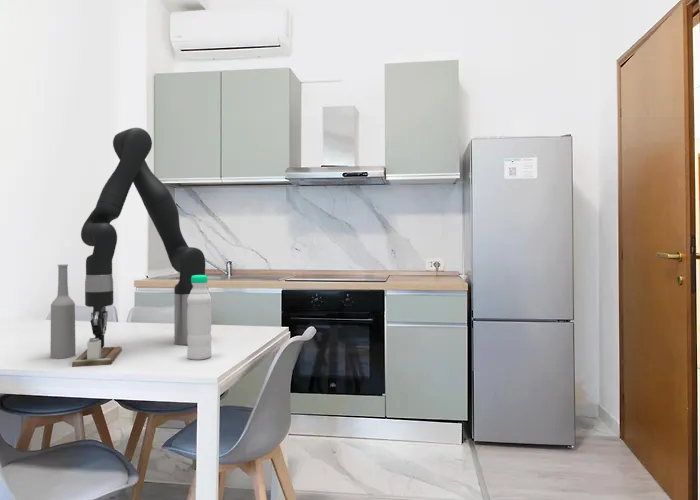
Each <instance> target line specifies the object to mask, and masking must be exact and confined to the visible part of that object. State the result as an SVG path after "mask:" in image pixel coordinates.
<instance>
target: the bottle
mask: <svg viewBox="0 0 700 500" xmlns="http://www.w3.org/2000/svg"><path fill="white" fill-rule="evenodd" d="M68 266H69V265H68V264H57V272H58V273H57V274H58V275H57V276H58V277H57V278H58V280H57V282H58V283H57V284H58V285H57V296H56V298H55V299H54V300H53V301H52V302H51V304H50V358H51V359H54V358H55V359H58V360H59V359H68V358H72V357H75V356H76V302H74V300H73V299H72V298H71V296H70V295H69V286H68V284H69V282H68V280H69V279H68Z"/></svg>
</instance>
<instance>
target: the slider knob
mask: <svg viewBox="0 0 700 500" xmlns="http://www.w3.org/2000/svg"><path fill="white" fill-rule="evenodd" d="M86 350H87V360H89V359H100V358H101V340H99V338H95V337H90V338H89V340H88V341H87V344H86Z"/></svg>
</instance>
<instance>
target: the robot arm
mask: <svg viewBox="0 0 700 500" xmlns="http://www.w3.org/2000/svg"><path fill="white" fill-rule="evenodd" d="M152 140H153V139H152V137H151V135H150V134H149V132H148V131H146V129H143V128H141V127H130V128H128V129H125V130H122V131H120V132H118V133H116V134H115V135H114V137H113V140H112V147H113V150H114V152H115V154H116V156H117V158H118V159H119V162H118V164H117V165H116V167H115V169H114V171H113V172H112V174H111V175H110V177H109V178H108V180H107V181H106V182H105V184H104V185H103V188H102V190H101V192H100V194H99V196H98V200H97V202H96V205H95V207H94V209H93V210H92V211H91V212H90V213H89V215H88V217H87V219H85V222H84V224H83V226H82V227H81V231H80V237H81V241H82V242H83V243H84V244H85V245H87V246H88V247H93V250H92V254H91V255H88V256H87V257H86V259H85V280H84V305H85V306H86V307H89V308H93V309H92V312H91V313H90V320H89V321H90V325H91V330H92V331H91V332H92V335H93V336H94V338H99V340H101V348H103V347H105V334H106V331H107V325H108V317H109V311H108V310H107V308H106V307H111V306H112V305H114V277H113V259H114V255H115V251H116V247H117V244H118V233H117V229H116V228H115V227H114V225H113V224H111V223H112V221H115V220H117V219H118V218H119V217H120V216H121V213H122V210H123V209H124V208H123V207H124V205H125V203H126V200H127V197H128V195H129V192H130V189H131V188H132V185H134V187H135V189H136V191H137V193H138V195H139V196H140V199H141V202H142V204H143V205H144V207H145V209H146V211H147V214H148V215H149V217H150V219H151V221H152V223H153V225H154V227H155V229H156V231H157V233H158V236H159V237H160V239H161V241H162V244H163V246H164V249H165V251H166V255H167V257H168V260H169V263H170V265H171V267H172V268H173V269H174V271H176V272H178V273H179V279H178V283H177V284H175V285H174V291H173V292H174V303H173V304H174V305H173V306H174V308H173V309H174V315H173V316H174V318H173V319H174V320H173V321H174V324H173V325H174V327H173V328H174V336H173V338H174V344H175V345H180V346H188V344H187V336H188V329H187V309H188V303H187V298H188V296H189V294H190V291H191V290H192V288H193V285H192V283H191V277H192V276H193V275H206V257H205V254H204V252H203V251H202V250H201V249H199V248H197V247H190V246H189V245H188V243H187V242H186V239H185V238H184V236H183V234H182V230H181V227H180V226H181V225H180V216H179V215H180V214H179V210H178V205H177V204H176V201H175V200H174V198H173V196H172V195H173V194H171V192H170V190H169V189H168V188H167V186H166V185H165V184H164V183H163V182H162V181H161V180H160V179H159V178H158V177H157V176H156V175H155V174H154V173H153V171H152V170H151V169H150V167H149V166H148V164H147V161H146V159H147V157H148V155H149V153H150V152H151V150H152V147H153V146H152V145H153V141H152Z"/></svg>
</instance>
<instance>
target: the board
mask: <svg viewBox="0 0 700 500" xmlns="http://www.w3.org/2000/svg"><path fill="white" fill-rule="evenodd" d="M122 352H123V347H122V346H118V345H117V346H104V347H103V348H101V358H100V359H89V360H87V349H85V350H84V352H82V353H81V354H79V356H78V357H76V358H75V359H74V360H73V361H72V362H71V367H74V366H75V368H76V367H91V366H104V365H105V366H106V365H107V366H108V365H112V364H113V362H115V360H116V359H117V358H118V357H119V355H120V354H121V353H122Z"/></svg>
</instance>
